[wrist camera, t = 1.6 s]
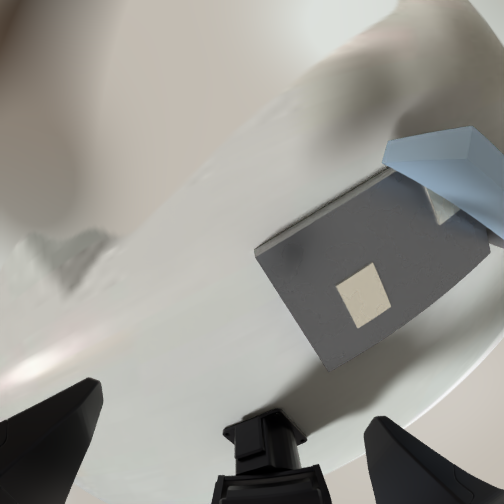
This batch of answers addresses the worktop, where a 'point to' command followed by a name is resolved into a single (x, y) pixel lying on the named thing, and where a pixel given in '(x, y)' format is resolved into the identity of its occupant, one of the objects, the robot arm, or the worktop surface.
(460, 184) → the light blue flat slab
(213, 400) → the worktop surface
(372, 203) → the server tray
